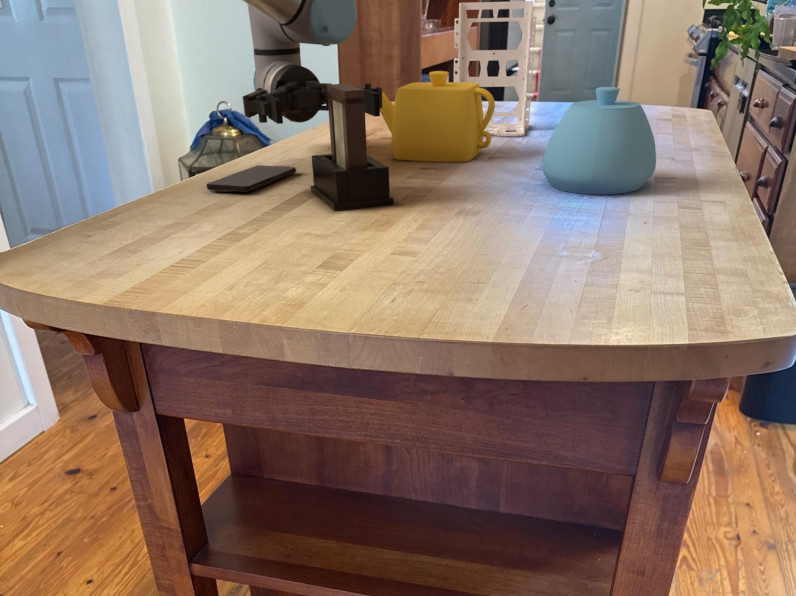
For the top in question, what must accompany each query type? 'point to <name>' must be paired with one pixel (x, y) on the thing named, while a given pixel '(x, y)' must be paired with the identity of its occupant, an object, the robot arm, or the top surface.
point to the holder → (350, 184)
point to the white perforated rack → (502, 55)
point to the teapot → (438, 120)
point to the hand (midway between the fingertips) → (329, 108)
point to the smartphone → (250, 178)
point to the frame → (347, 126)
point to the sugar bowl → (601, 147)
